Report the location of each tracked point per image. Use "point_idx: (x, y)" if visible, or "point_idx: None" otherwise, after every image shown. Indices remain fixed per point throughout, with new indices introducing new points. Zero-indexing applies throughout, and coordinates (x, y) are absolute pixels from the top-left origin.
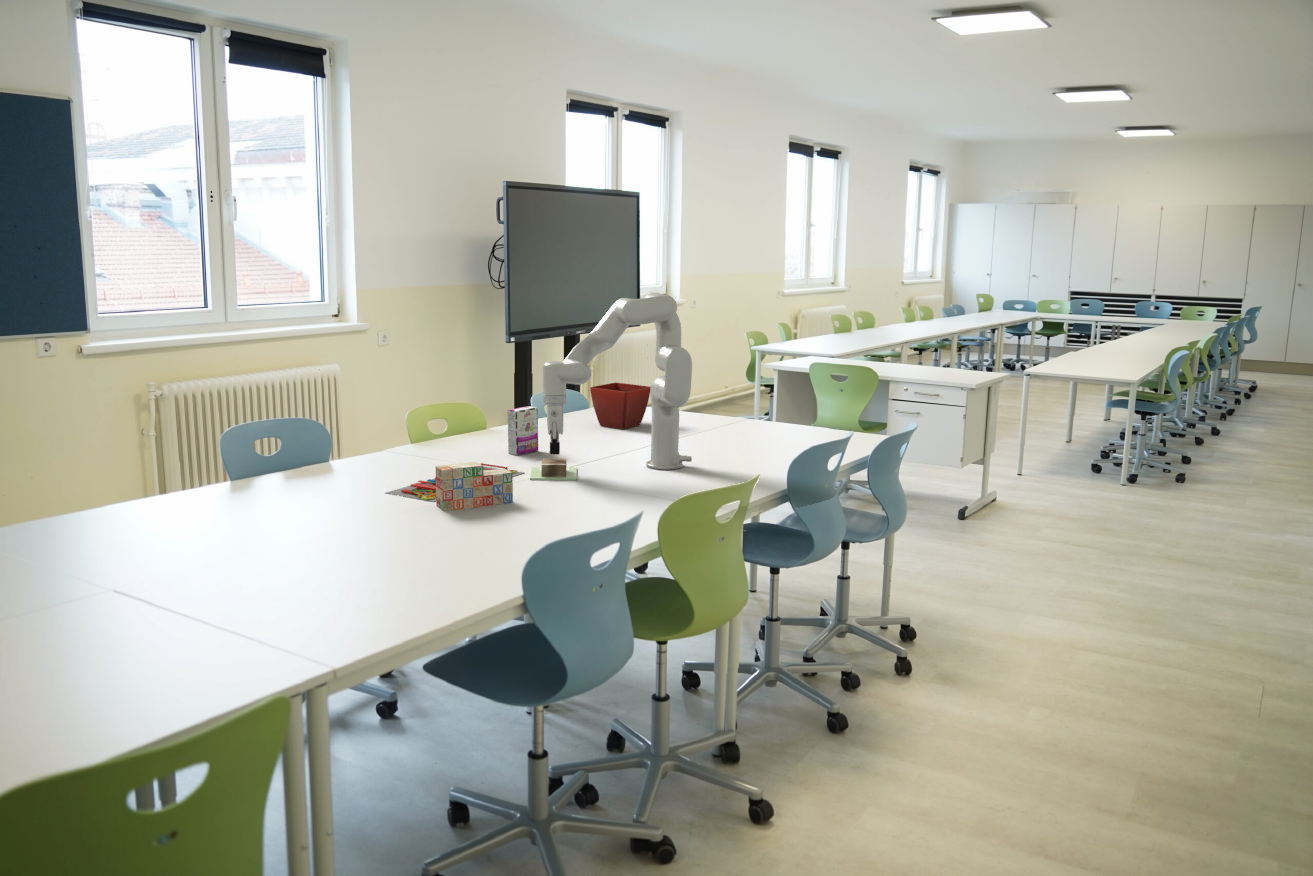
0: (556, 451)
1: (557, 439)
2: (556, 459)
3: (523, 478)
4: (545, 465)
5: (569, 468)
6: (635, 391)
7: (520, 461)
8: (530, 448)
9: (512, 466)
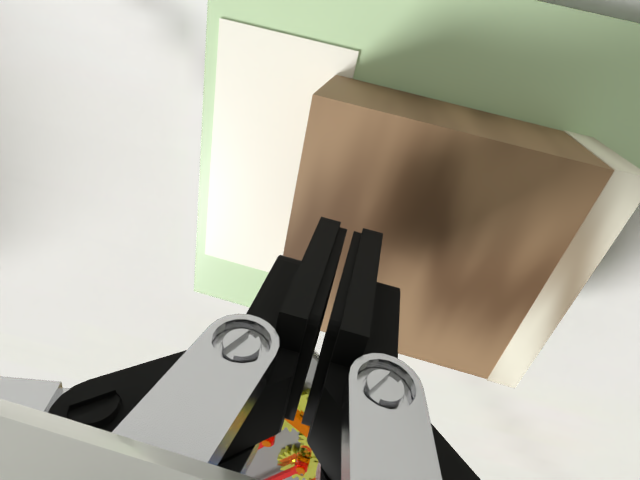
0: (399, 295)
1: (421, 453)
2: (331, 214)
3: (442, 388)
4: (530, 356)
5: (253, 22)
6: None
7: (8, 289)
8: None
9: (133, 354)
